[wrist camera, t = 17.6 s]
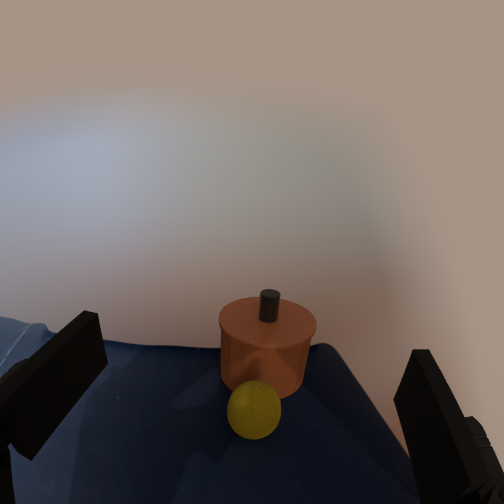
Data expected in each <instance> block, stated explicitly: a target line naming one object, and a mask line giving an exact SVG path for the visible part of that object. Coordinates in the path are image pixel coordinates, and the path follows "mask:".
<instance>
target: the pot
mask: <svg viewBox="0 0 504 504" xmlns="http://www.w3.org/2000/svg"><path fill="white" fill-rule="evenodd" d="M310 342H311V339H309V340H308V341H307V342H305V343H303V344H301V345H299V346H296V347H292V348H287V349H279V350H269V349H259V348H254V347H250V346H246V345H243V344H241V343H239V342H236V341H235V340H233V339H231V338H230V337H228V336H227V335H226V334H225V333H224V332H223V331H222V329H221V365H220V367H221V377H222V380H223V382H224V383H225V385H226V386H227V387H228V388H229V389H230V390H231V391H233V392H234V390H235V389H236V388H237V387H238V386H239V385H241V384H243V383H245V382H248V381H261V382H264V383H267V384H268V385H270V386H271V387H273V389H274V390H275V391H276V392H277V394H278V396H279V399H282V398H285V397H287V396H289V395H291V394H293V393H294V392H295V391H296V390H298V388H299V387H300V385H301V384H302V381H303V377H304V372H305V367H306V362H307V357H308V352H309V347H310Z"/></svg>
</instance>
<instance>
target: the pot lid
mask: <svg viewBox="0 0 504 504" xmlns="http://www.w3.org/2000/svg"><path fill="white" fill-rule="evenodd" d="M219 325H220V327H221V329H222V331H223V332H224V333H225V334H226V335H227V336H228V337H230V338H231V339H233V340H235V341H236V342H239V343H241V344H243V345H246V346H250V347H254V348H259V349H269V350H279V349H287V348H292V347H296V346H299V345H301V344H303V343H305V342H307V341H308V340H309V339H311V338H312V336H313V335H314V333H315V330H316V320H315V318H314V316H313V315H312V314H311V313H310V312H309V311H308V310H307V309H305V308H304V307H302V306H300V305H298V304H296V303H293V302H290V301H287V300H283V299H280V293H279V292H278V291H276V290H272V289H265V290H262V291H261V293H260V297H251V298H244V299H240V300H236V301H234V302H232V303H230V304H228V305H226V306H225V307H224V308H223V309H222V310H221V312H220V314H219Z"/></svg>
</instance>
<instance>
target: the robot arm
mask: <svg viewBox="0 0 504 504" xmlns="http://www.w3.org/2000/svg"><path fill="white" fill-rule="evenodd" d="M107 364H108V361H107V357H106V352H105V348H104V343H103V338H102V333H101V328H100V323H99V317H98V313H94V312H89V311H83V312H82V313H81V314H79V315H78V316H77V317H76V318H75V319H73V320H72V321H71V322H70V323H69V324H68V325H66V326H65V327H64V328H63V329H62V330H61V331H59V332H58V333H57V334H56V335H55V336H54V337H52V338H51V339H50V340H49V341H48V342H47V343H46V344H44V345H43V346H42V347H41V348H40V349H39V350H38V351H37V352H35V353H34V354H33V355H32V356H31V357H30V358H29V359H27V358H26V359H24V360H22V361H20V362H18V363H16V364H15V365H14V366H12V367H11V368H10V369H9V370H8V372H6V373H5V374H4V375H3V376H2V378H0V504H15V498H14V490H13V482H12V471H11V458H10V451H9V448H8V447H7V446H8V445H9V444H10V443H12V445H13V446H14V448H15V449H16V451H17V452H18V453H19V454H21V455H23V456H24V457H26V458H27V459H29V460H31V461H32V460H33V458H34V457H35V456H36V454H37V453H38V452H39V450H40V449H41V448H42V446H43V445H44V444H45V442H46V441H47V440H48V438H49V437H50V436H51V434H52V433H53V432H54V431H55V429H56V428H57V427H58V425H59V424H60V423H61V422H62V420H63V419H64V418H65V416H66V415H67V414H68V413H69V411H70V410H71V409H72V408H73V406H74V405H75V404H76V403H77V401H78V400H79V399H80V398H81V396H82V395H83V394H84V393H85V391H86V390H87V389H88V388H89V386H90V385H91V384H92V383H93V381H94V380H95V379H96V378H97V376H98V375H99V374H100V373H101V372H102V370H103V369H104V368H105V367H106V365H107ZM393 400H394V403H395V406H396V410H397V413H398V416H399V419H400V423H401V426H402V430H403V433H404V437H405V441H406V444H407V448H408V452H409V456H410V460H411V463H412V467H413V471H414V476H415V480H416V484H417V488H418V493H419V497H420V502H421V504H504V472H503V470H502V468H501V465H500V463H499V461H498V459H497V456H496V454H495V452H494V450H493V448H492V446H490V444H491V443H490V441H489V439H488V438H487V437H486V436H487V435H486V433H485V431H484V429H483V427H482V425H481V424H480V423H479V422H478V421H477V420H476V419H475V418H474V417H473V416H470V417H464V415H463V413H462V411H461V409H460V407H459V405H458V403H457V401H456V399H455V397H454V395H453V393H452V391H451V389H450V387H449V385H448V384H447V382H446V380H445V378H444V376H443V374H442V372H441V370H440V369H439V367H438V365H437V363H436V362H435V360H434V358H433V356H432V354H431V353H430V351H429V350H428V349H427V350H426V349H413V350H412V353H411V356H410V359H409V361H408V364H407V367H406V369H405V372H404V375H403V377H402V380H401V382H400V385H399V387H398V389H397V392H396V394H395V397H394V399H393Z"/></svg>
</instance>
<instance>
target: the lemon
mask: <svg viewBox="0 0 504 504" xmlns="http://www.w3.org/2000/svg"><path fill="white" fill-rule="evenodd" d="M227 416H228V421H229V423H230V425H231V427H232V429H233V430H234V431H235V432H236V433H237V434H238V435H240V436H242V437H244V438H247V439H260V438H263V437H266V436H267V435H269V434H270V433H272V432H273V430H274V429H275V428H276V426H277V425H278V422H279V419H280V416H281V404H280V399H279V396H278V394H277V392H276V391H275V390H274V389H273V387H271V386H270V385H268V384H267V383H264V382H261V381H248V382H245V383H243V384H241V385H239V386H238V387H237V388H236V389H235V390H234V392H233V393H232V395H231V397H230V400H229V403H228V407H227Z"/></svg>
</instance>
